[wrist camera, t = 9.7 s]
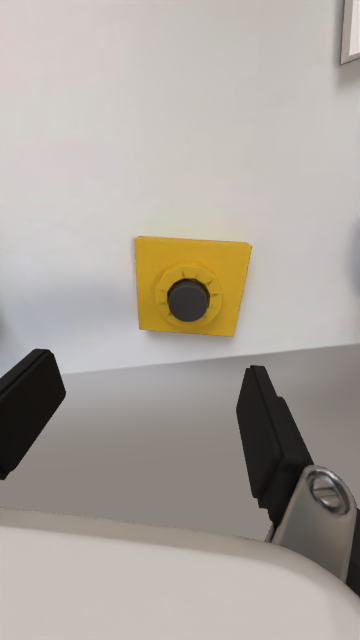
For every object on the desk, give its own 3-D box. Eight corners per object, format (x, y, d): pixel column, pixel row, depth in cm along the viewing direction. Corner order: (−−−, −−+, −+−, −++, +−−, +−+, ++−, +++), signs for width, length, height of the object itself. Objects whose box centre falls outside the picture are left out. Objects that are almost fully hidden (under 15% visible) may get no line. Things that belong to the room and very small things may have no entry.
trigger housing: (230, 327, 26) (236, 346, 22) (143, 320, 26) (135, 338, 22) (247, 242, 21) (257, 249, 17) (139, 235, 21) (128, 241, 18)
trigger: (204, 315, 21) (205, 323, 20) (169, 312, 21) (167, 320, 20) (208, 281, 19) (210, 287, 18) (170, 278, 19) (168, 284, 18)
